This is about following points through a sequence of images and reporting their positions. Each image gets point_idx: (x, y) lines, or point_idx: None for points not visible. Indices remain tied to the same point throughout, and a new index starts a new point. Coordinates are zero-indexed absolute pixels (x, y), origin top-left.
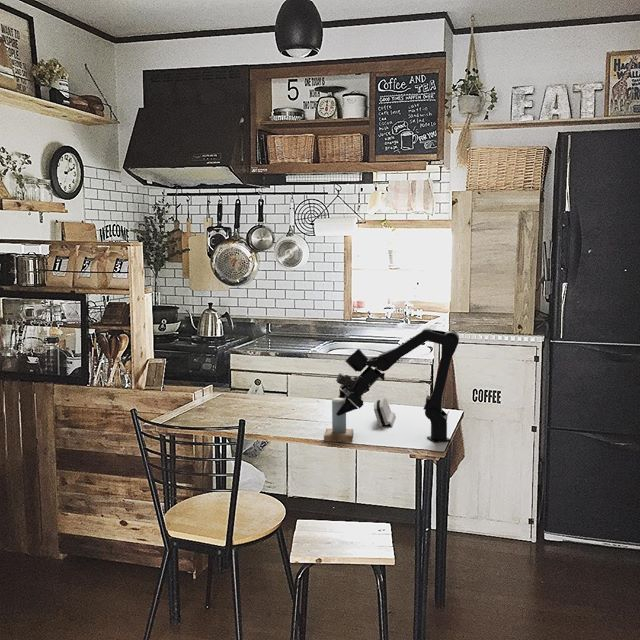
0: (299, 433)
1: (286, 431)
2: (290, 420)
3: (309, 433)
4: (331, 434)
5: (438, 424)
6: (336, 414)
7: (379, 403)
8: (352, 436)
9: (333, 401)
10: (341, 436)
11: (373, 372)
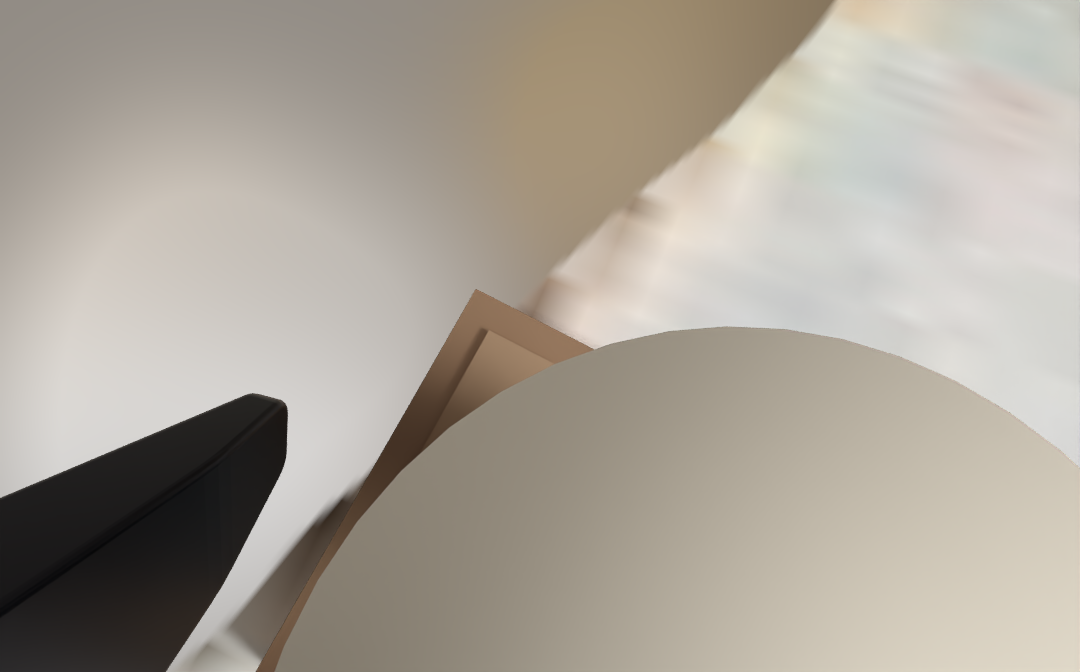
0: (939, 178)
1: (1067, 78)
2: None
3: (906, 287)
4: (463, 403)
5: None
6: (256, 399)
7: None
8: None
9: (602, 356)
10: (340, 526)
11: None
